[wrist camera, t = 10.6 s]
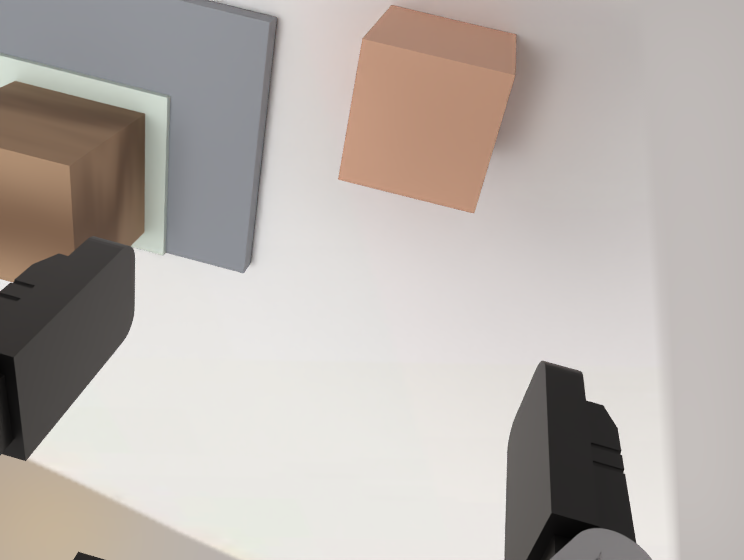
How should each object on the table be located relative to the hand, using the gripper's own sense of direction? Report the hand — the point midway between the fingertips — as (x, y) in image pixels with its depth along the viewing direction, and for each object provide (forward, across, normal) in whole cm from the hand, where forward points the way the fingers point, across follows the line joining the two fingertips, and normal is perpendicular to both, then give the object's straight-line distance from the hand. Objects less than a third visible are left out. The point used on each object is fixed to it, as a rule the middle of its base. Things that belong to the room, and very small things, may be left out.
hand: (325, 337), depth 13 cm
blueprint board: (+18, +16, +5) cm, 24 cm away
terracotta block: (+18, 0, 0) cm, 18 cm away
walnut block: (+17, +15, +7) cm, 23 cm away
